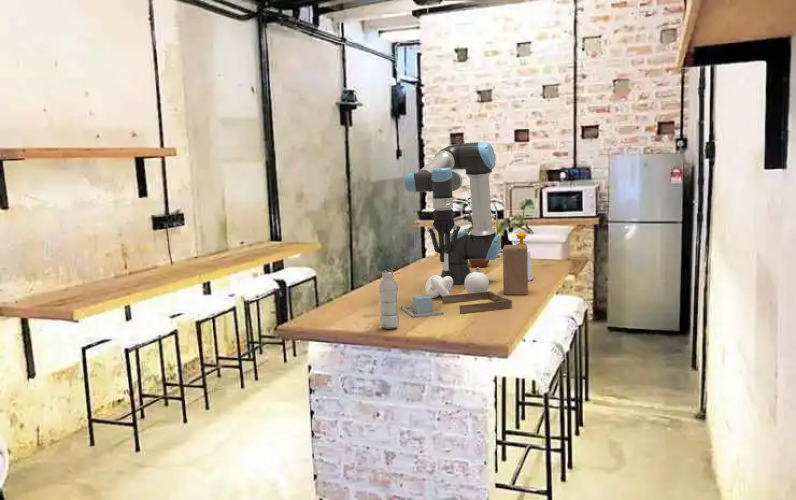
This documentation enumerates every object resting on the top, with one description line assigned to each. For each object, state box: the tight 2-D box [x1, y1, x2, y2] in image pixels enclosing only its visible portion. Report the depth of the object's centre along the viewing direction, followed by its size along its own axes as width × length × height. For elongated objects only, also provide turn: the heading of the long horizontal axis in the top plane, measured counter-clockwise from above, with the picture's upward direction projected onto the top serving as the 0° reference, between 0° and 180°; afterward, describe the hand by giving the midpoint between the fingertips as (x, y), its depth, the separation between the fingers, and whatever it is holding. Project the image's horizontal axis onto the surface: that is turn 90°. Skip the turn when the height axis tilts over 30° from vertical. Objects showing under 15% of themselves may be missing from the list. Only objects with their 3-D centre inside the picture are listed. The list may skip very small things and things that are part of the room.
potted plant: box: [466, 211, 490, 268], centre depth 346 cm, size 17×16×35 cm
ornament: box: [463, 267, 490, 293], centre depth 274 cm, size 10×10×12 cm
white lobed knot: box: [424, 274, 454, 299], centre depth 274 cm, size 11×12×9 cm
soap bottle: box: [515, 231, 533, 282], centre depth 307 cm, size 10×14×22 cm
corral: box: [400, 305, 445, 319], centre depth 250 cm, size 16×12×1 cm
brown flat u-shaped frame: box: [441, 290, 513, 315], centre depth 256 cm, size 20×21×3 cm
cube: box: [411, 294, 434, 315], centre depth 250 cm, size 6×6×6 cm
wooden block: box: [502, 244, 529, 296], centre depth 276 cm, size 10×10×20 cm
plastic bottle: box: [378, 270, 400, 330], centre depth 226 cm, size 6×7×20 cm
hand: (445, 270), depth 252 cm, fingers closed
